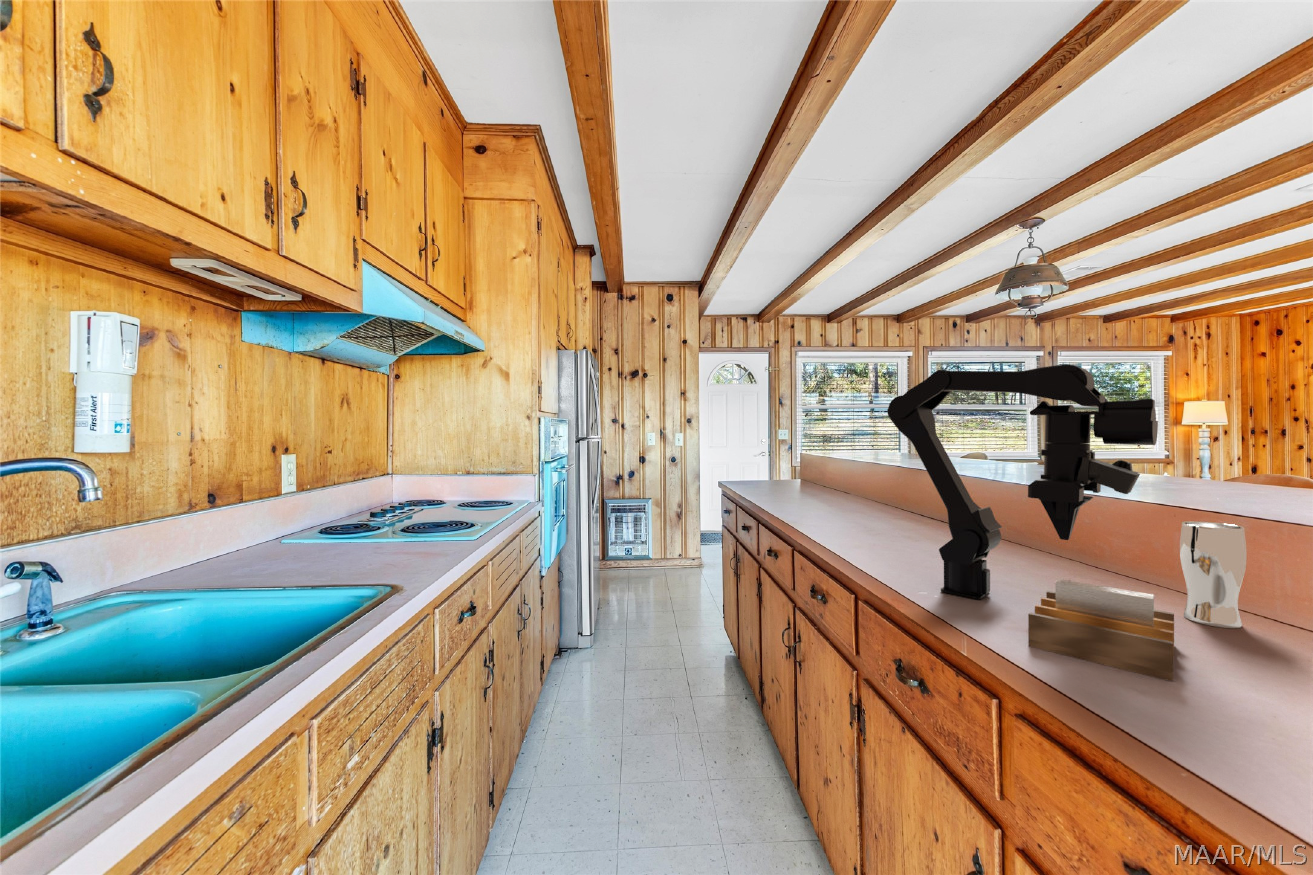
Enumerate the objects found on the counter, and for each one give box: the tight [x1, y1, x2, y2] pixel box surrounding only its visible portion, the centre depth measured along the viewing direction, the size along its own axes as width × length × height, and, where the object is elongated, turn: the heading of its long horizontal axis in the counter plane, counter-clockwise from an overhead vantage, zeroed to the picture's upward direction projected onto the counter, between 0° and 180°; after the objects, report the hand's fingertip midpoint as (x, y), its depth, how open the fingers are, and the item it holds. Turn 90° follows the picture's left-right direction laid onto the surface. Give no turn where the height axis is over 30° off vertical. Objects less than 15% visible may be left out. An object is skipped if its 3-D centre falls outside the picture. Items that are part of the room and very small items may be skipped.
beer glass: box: [1179, 520, 1248, 629], centre depth 78 cm, size 7×7×15 cm
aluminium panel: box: [1055, 578, 1155, 627], centre depth 70 cm, size 10×2×7 cm, turn 43°
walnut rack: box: [1027, 590, 1175, 682], centre depth 70 cm, size 14×14×4 cm
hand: (1064, 539), depth 82 cm, fingers closed
